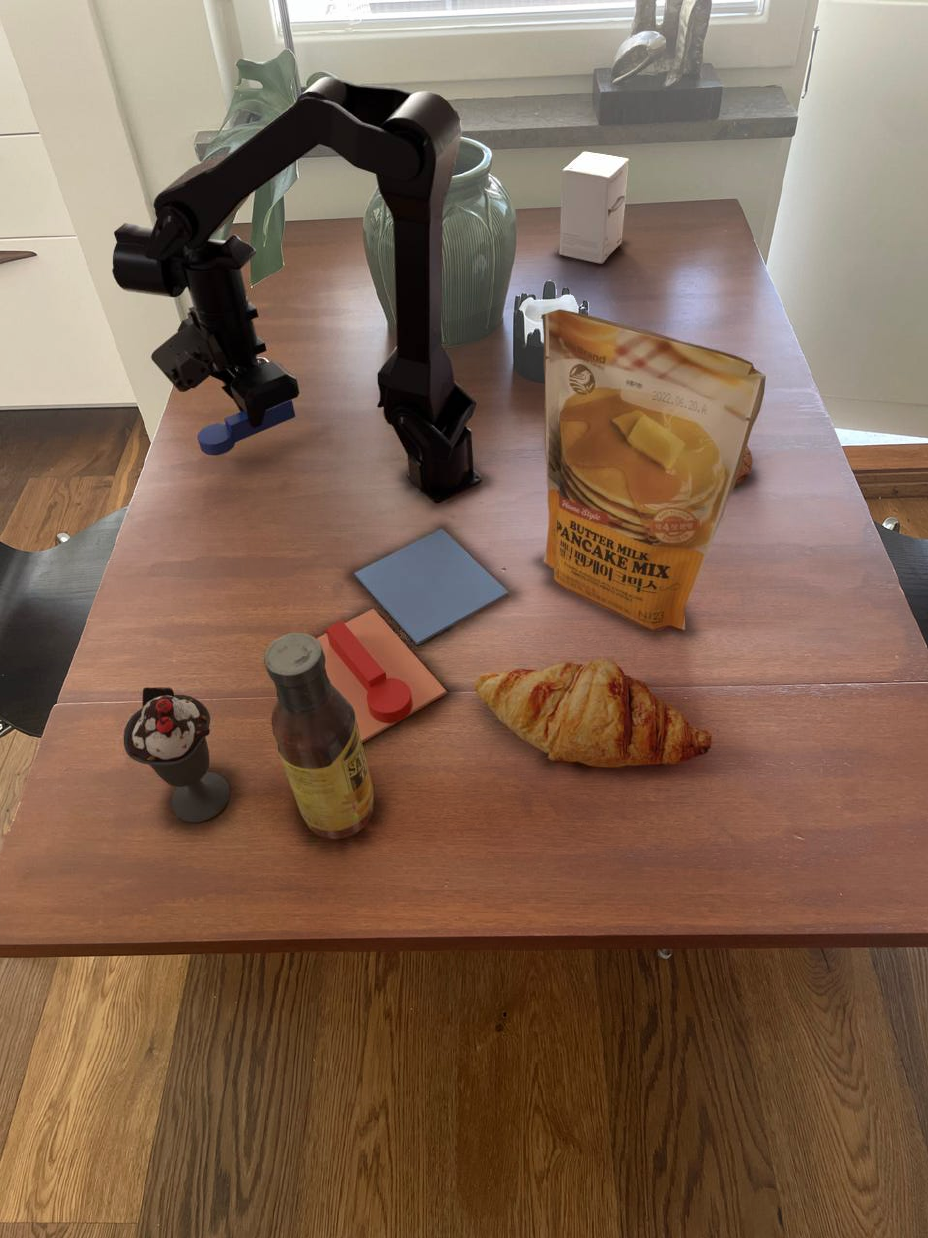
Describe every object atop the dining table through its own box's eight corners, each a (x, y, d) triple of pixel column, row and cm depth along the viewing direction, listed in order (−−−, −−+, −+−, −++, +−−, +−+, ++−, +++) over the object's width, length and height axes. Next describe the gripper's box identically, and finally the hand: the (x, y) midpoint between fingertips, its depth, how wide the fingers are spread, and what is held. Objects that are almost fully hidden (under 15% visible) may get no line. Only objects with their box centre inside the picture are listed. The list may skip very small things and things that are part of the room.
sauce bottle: (381, 834, 75) (345, 685, 61) (306, 850, 75) (251, 704, 60) (370, 768, 80) (334, 614, 65) (298, 783, 79) (245, 631, 64)
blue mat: (442, 530, 99) (441, 528, 99) (508, 594, 93) (508, 592, 92) (354, 575, 96) (354, 572, 95) (417, 645, 89) (417, 643, 88)
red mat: (373, 610, 92) (373, 608, 92) (446, 693, 85) (446, 690, 84) (285, 657, 89) (284, 655, 88) (353, 748, 81) (352, 745, 81)
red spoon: (319, 650, 89) (315, 633, 87) (355, 630, 90) (351, 614, 88) (383, 731, 82) (380, 715, 80) (421, 709, 83) (418, 692, 81)
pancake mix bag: (556, 533, 98) (564, 288, 78) (718, 609, 90) (776, 357, 69) (519, 570, 95) (517, 324, 74) (684, 652, 87) (734, 401, 66)
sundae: (224, 838, 76) (172, 733, 65) (149, 825, 77) (85, 720, 66) (252, 770, 80) (207, 661, 69) (180, 759, 81) (125, 650, 70)
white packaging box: (602, 265, 136) (608, 177, 127) (557, 255, 139) (560, 168, 130) (623, 243, 140) (630, 157, 131) (579, 234, 143) (583, 149, 134)
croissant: (467, 741, 85) (446, 729, 78) (496, 638, 87) (478, 616, 80) (698, 804, 79) (699, 796, 72) (724, 691, 81) (727, 673, 73)
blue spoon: (284, 405, 112) (280, 388, 110) (300, 421, 110) (296, 404, 108) (195, 443, 108) (189, 426, 106) (209, 460, 106) (204, 443, 104)
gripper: (115, 290, 99) (158, 411, 111) (184, 365, 89) (224, 490, 100) (210, 257, 103) (242, 377, 115) (286, 325, 93) (313, 450, 104)
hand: (253, 421), depth 108 cm, fingers closed on blue spoon, 2 cm apart
